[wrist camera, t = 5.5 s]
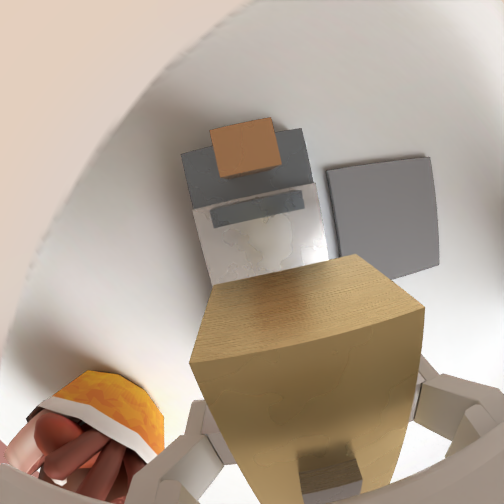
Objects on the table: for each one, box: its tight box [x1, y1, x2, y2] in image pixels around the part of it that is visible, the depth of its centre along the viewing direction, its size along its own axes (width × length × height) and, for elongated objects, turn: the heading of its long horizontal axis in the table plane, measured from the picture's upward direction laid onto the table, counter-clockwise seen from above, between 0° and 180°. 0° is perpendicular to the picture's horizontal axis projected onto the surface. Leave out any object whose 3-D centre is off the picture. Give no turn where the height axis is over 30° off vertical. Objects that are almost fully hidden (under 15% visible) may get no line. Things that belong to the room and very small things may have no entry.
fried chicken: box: [4, 370, 164, 504], centre depth 19 cm, size 20×16×20 cm
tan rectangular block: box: [189, 254, 425, 504], centre depth 7 cm, size 8×4×5 cm, turn 12°
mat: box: [326, 157, 439, 280], centre depth 24 cm, size 11×11×1 cm
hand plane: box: [181, 117, 329, 287], centre depth 20 cm, size 20×9×10 cm, turn 12°
